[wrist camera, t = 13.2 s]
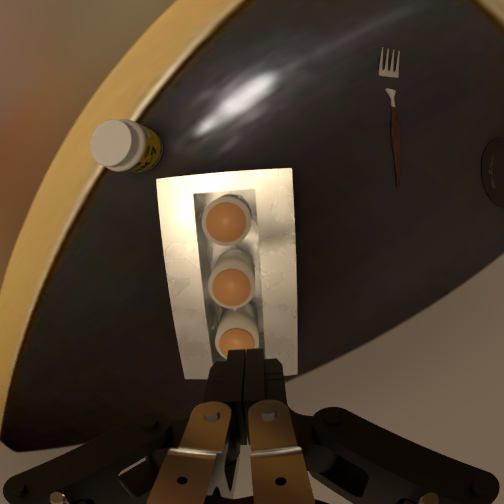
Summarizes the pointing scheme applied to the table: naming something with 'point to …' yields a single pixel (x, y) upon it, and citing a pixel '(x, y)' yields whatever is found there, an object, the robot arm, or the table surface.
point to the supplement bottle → (125, 146)
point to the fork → (393, 113)
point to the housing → (207, 253)
